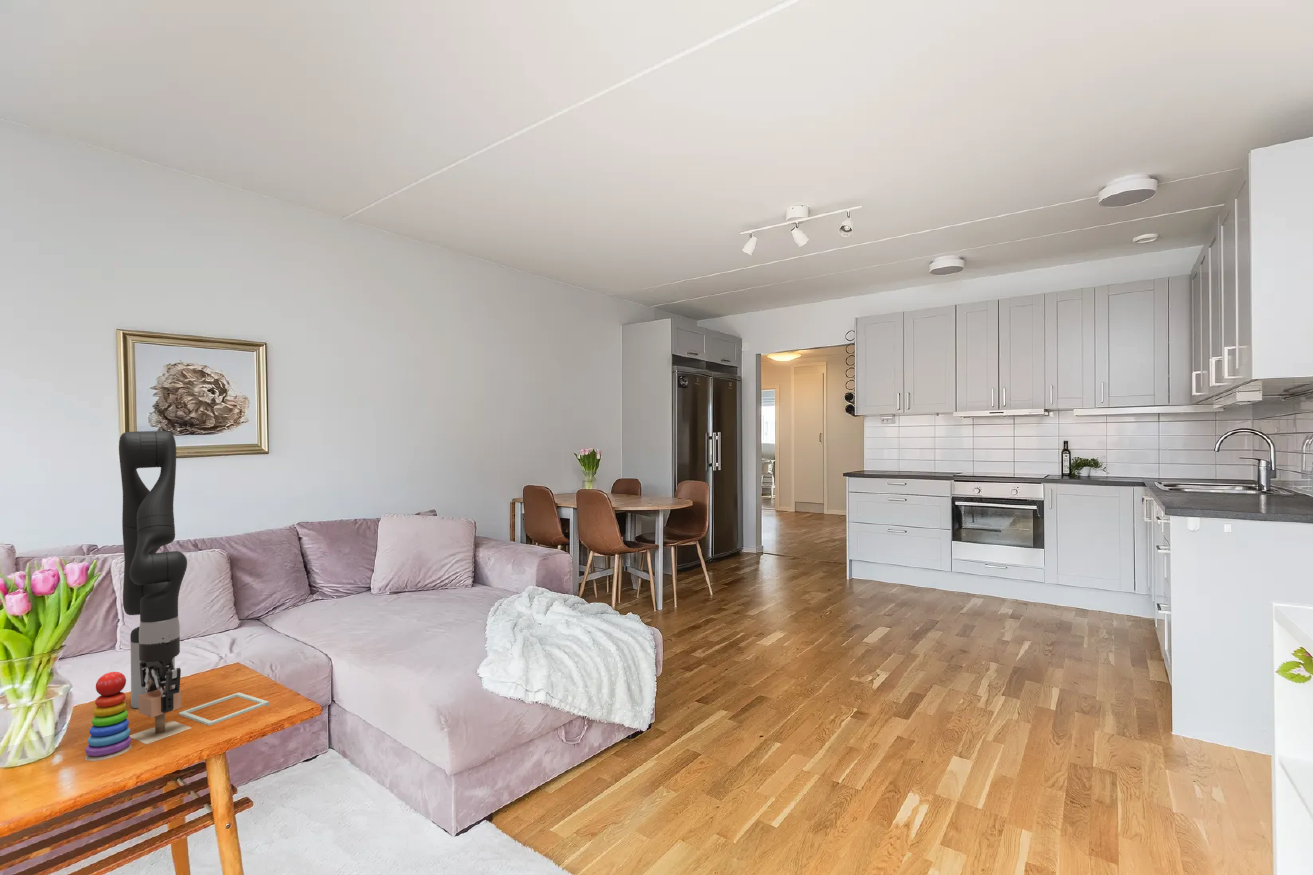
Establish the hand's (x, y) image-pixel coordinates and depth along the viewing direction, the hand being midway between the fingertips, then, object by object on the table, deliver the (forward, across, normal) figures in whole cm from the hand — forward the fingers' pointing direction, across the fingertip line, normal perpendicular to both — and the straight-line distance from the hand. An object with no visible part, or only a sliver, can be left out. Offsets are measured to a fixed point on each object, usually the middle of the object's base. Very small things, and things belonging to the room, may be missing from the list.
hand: (160, 708), depth 146 cm
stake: (+7, 0, 0) cm, 7 cm away
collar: (0, 0, 0) cm, 0 cm away
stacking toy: (+7, +1, -10) cm, 12 cm away
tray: (+7, 0, +14) cm, 15 cm away
